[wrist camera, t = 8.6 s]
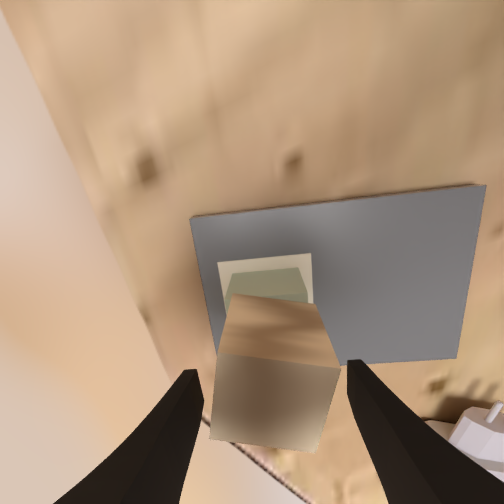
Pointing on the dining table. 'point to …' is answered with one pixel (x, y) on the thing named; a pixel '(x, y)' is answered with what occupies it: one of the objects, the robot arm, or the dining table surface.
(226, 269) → the board
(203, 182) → the dining table surface
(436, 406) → the dining table surface
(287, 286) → the sage base block
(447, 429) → the charger
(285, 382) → the maple block
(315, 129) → the dining table surface
